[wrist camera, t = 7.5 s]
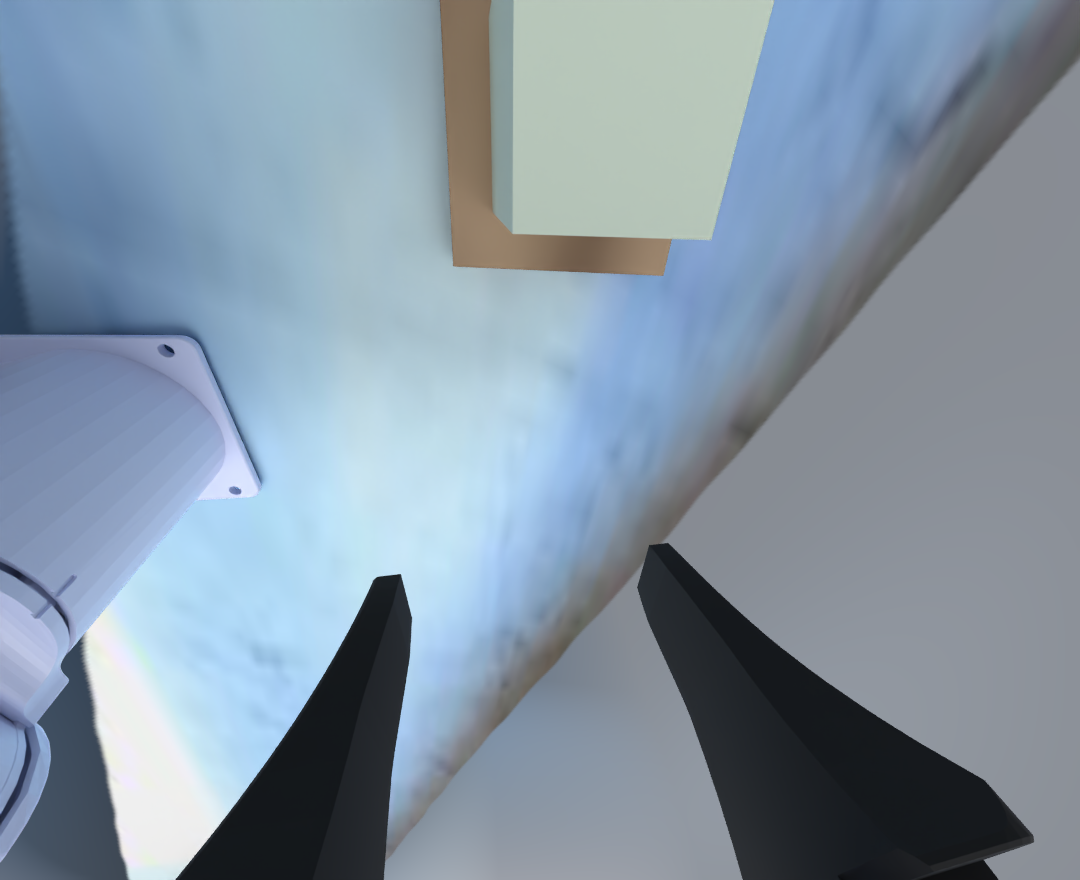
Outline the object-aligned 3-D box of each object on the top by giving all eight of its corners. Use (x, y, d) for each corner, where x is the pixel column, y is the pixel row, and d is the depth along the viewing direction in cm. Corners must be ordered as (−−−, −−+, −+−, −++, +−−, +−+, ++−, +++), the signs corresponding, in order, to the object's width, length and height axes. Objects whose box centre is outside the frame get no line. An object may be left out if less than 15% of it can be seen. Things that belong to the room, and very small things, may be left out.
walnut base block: (454, 255, 16) (453, 266, 13) (439, -46, 11) (435, -97, 9) (638, 264, 17) (663, 275, 15) (689, 1, 13) (734, -34, 11)
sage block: (492, 212, 13) (512, 234, 8) (488, 16, 10) (514, -128, 5) (620, 217, 14) (710, 239, 9) (646, 36, 11) (794, -76, 6)
